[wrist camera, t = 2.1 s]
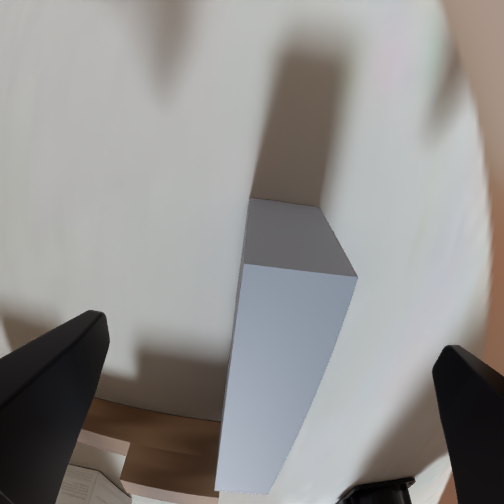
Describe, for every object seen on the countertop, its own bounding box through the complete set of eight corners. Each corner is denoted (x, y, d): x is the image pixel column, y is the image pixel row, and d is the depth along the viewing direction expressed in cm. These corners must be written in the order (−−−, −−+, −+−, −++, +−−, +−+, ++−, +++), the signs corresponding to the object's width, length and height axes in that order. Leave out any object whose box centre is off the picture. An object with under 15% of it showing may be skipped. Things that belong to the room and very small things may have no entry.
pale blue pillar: (319, 207, 11) (357, 277, 7) (266, 416, 16) (268, 494, 12) (249, 197, 11) (244, 263, 7) (222, 412, 16) (214, 490, 12)
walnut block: (225, 422, 17) (218, 497, 12) (223, 439, 18) (216, 508, 13) (20, 373, 16) (-13, 425, 12) (28, 391, 17) (0, 443, 13)
